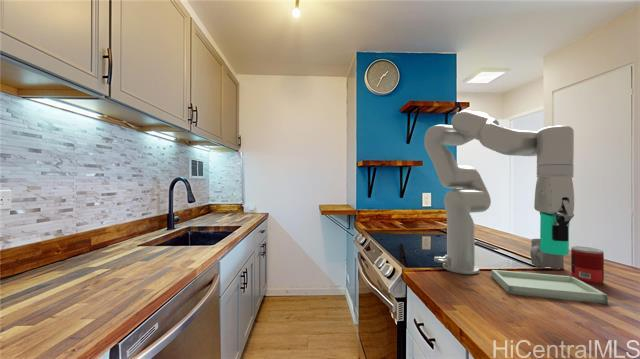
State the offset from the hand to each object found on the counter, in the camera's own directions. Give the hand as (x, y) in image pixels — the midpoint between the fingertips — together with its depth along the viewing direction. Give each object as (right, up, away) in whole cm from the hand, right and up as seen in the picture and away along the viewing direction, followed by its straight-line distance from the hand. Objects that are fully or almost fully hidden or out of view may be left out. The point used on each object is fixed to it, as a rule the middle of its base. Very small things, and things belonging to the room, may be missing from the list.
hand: (554, 237), depth 72 cm
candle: (0, -4, 0) cm, 4 cm away
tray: (+8, -19, +13) cm, 24 cm away
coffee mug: (+28, -20, +36) cm, 50 cm away
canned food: (+29, -20, +20) cm, 40 cm away
